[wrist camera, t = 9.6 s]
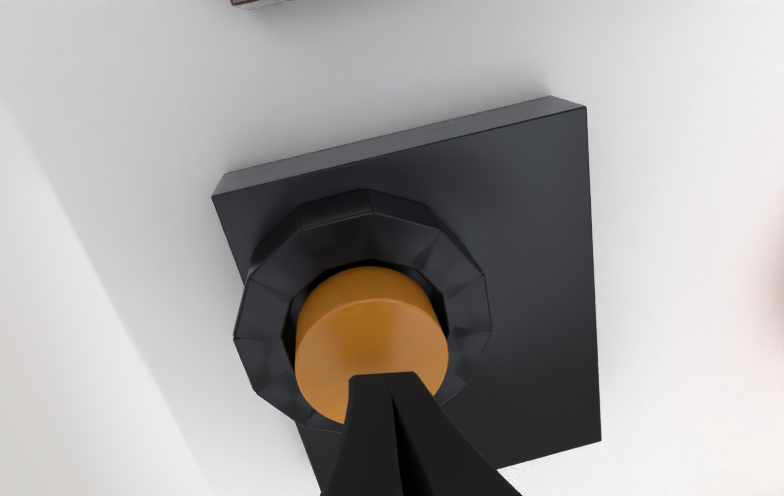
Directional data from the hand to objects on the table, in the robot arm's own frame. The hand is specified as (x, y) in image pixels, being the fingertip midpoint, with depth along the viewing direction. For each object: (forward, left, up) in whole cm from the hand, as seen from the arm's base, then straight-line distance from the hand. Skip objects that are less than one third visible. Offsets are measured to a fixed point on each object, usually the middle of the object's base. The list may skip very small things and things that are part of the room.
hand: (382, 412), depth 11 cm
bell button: (0, 0, -3) cm, 3 cm away
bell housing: (+2, -2, -7) cm, 7 cm away
